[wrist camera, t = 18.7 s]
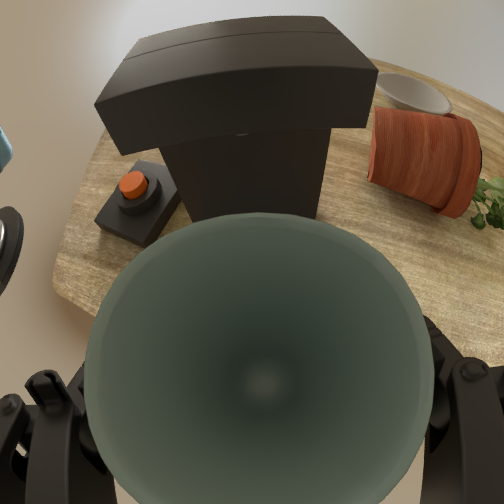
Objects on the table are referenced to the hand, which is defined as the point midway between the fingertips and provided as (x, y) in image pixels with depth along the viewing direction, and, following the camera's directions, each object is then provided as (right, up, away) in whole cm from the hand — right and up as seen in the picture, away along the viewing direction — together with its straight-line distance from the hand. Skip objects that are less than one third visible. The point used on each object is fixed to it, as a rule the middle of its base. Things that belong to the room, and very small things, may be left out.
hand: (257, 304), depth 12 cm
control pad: (-16, +9, +26) cm, 32 cm away
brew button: (-16, +11, +23) cm, 30 cm away
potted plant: (+32, +10, +22) cm, 40 cm away
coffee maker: (+1, +2, +21) cm, 21 cm away
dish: (+32, +31, +33) cm, 55 cm away
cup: (+1, -5, +2) cm, 5 cm away
